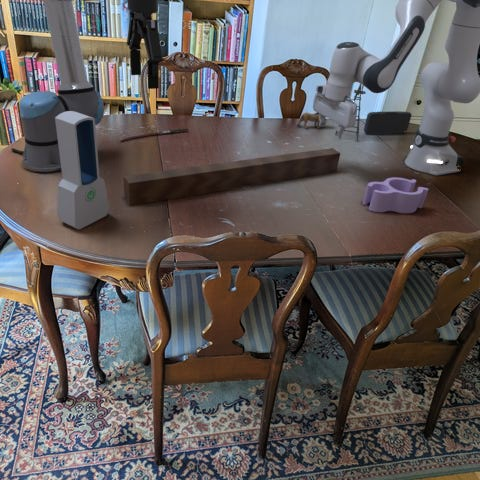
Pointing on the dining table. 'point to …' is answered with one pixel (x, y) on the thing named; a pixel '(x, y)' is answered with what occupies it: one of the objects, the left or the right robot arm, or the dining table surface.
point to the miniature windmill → (357, 109)
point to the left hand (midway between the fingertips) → (144, 81)
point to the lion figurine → (310, 119)
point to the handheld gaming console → (387, 122)
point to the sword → (154, 134)
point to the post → (227, 175)
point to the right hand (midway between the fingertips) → (329, 131)
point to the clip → (394, 196)
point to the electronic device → (79, 171)
